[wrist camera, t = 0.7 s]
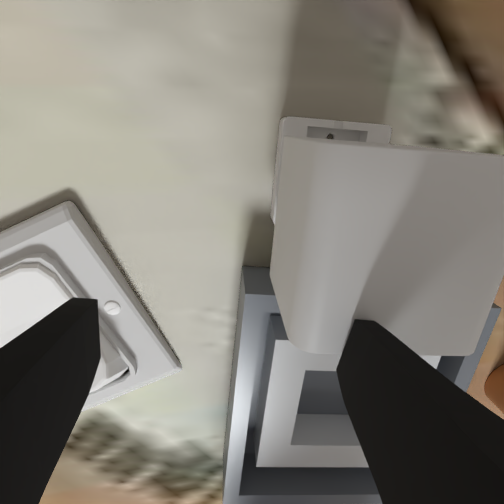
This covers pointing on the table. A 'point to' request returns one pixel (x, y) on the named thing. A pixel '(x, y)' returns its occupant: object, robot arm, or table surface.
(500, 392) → the brown cylindrical peg
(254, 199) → the table surface
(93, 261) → the light switch
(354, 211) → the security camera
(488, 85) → the table surface
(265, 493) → the walled box
